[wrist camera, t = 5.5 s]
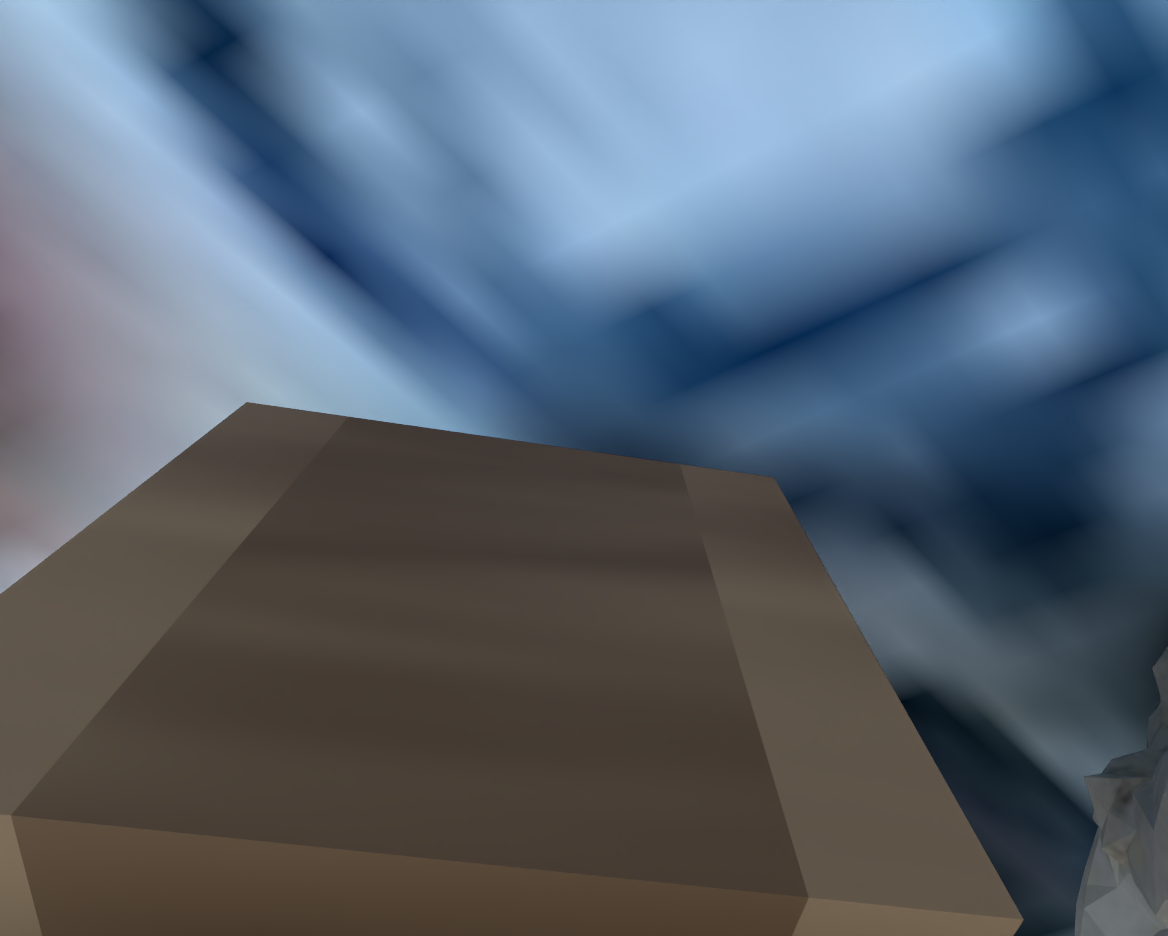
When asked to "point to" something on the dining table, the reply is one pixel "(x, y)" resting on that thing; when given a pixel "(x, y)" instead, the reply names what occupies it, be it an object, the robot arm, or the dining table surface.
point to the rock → (1130, 837)
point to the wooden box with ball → (459, 707)
